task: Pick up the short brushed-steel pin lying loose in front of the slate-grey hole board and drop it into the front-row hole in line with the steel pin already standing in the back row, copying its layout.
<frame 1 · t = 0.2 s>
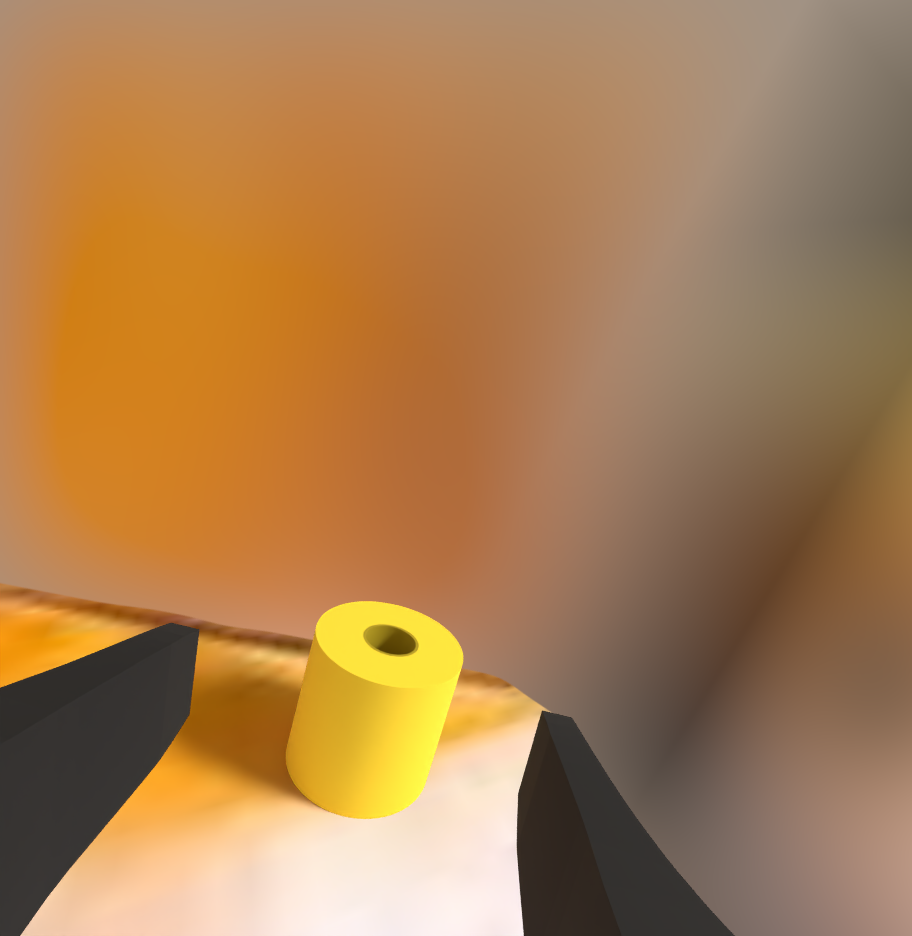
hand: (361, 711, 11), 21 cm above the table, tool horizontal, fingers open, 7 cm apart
tape roll: (357, 759, 39), on the table
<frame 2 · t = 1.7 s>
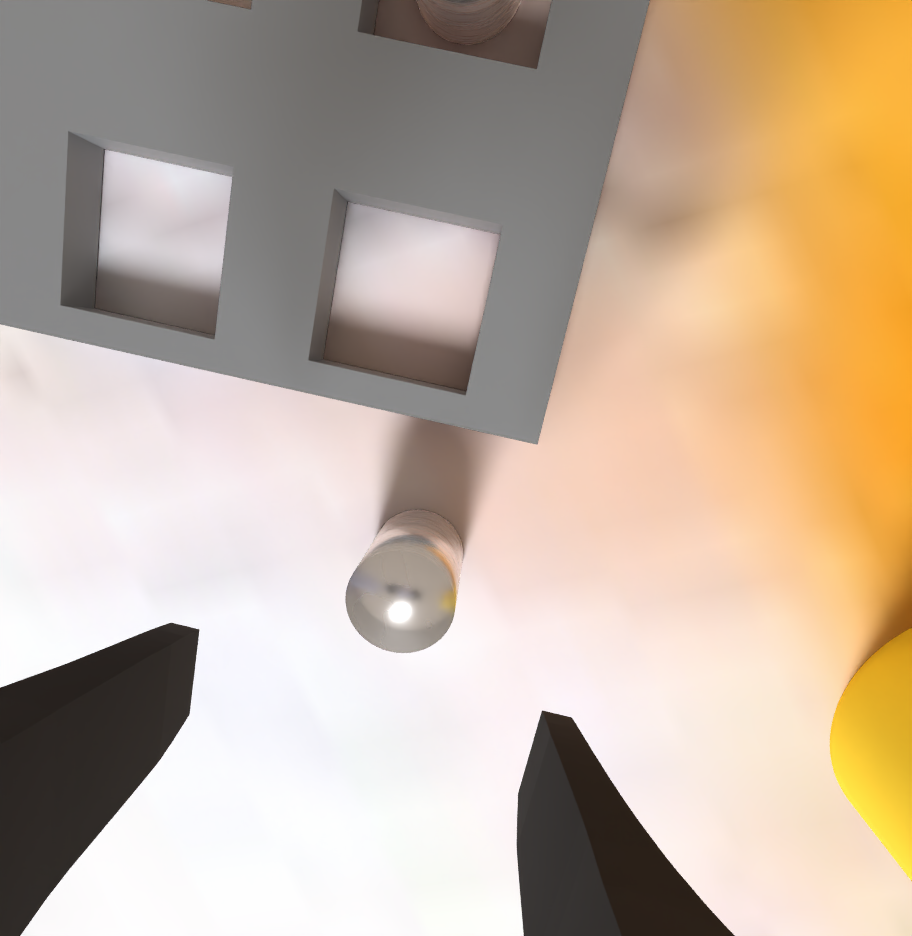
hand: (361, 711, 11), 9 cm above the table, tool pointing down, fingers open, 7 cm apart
hole board: (311, 122, 17), on the table
loose pin: (418, 552, 20), on the table
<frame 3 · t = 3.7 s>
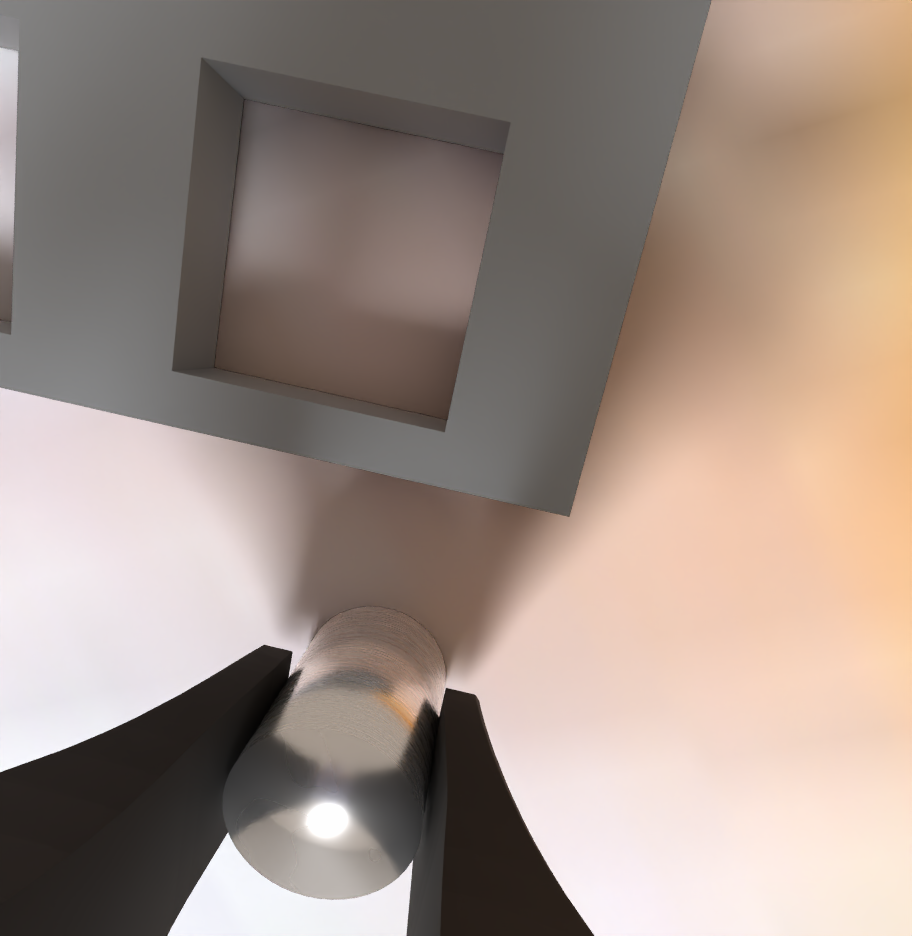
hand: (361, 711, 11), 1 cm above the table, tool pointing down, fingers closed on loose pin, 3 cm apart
loose pin: (375, 671, 13), on the table, touching gripper
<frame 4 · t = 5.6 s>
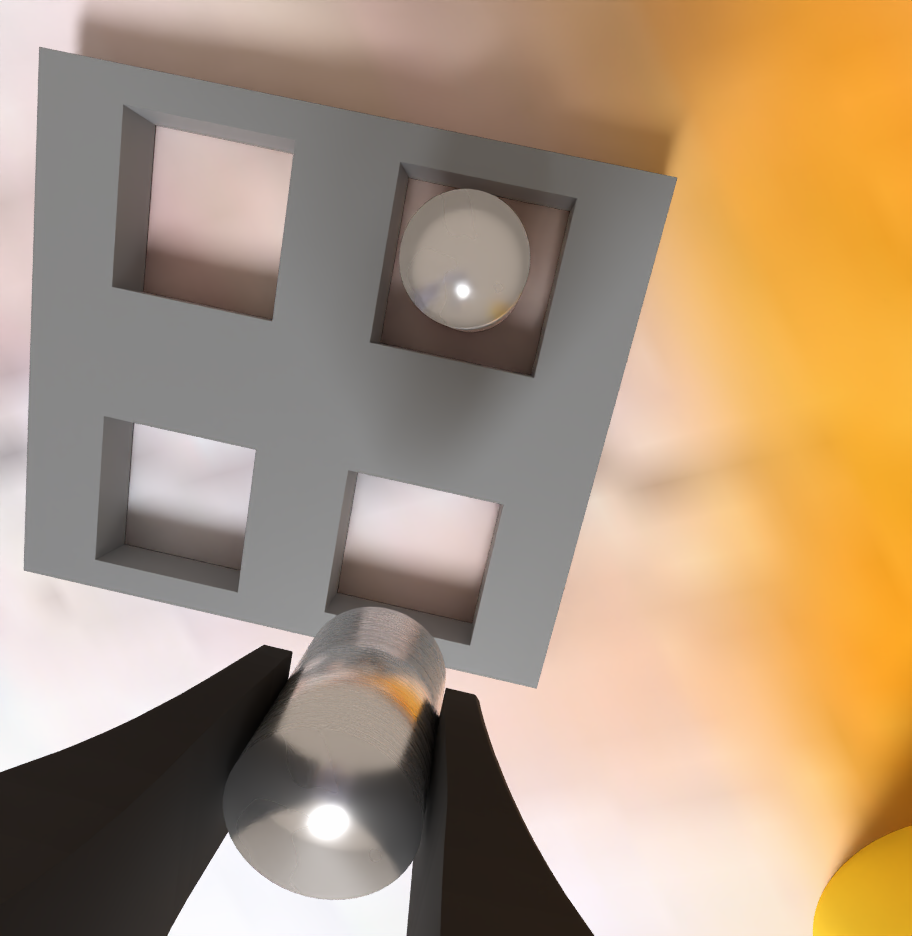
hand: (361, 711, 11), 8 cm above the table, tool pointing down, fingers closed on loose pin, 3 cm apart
hole board: (326, 393, 18), on the table
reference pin: (471, 279, 17), resting in hole board
loose pin: (376, 671, 13), point 7 cm above the table, touching gripper
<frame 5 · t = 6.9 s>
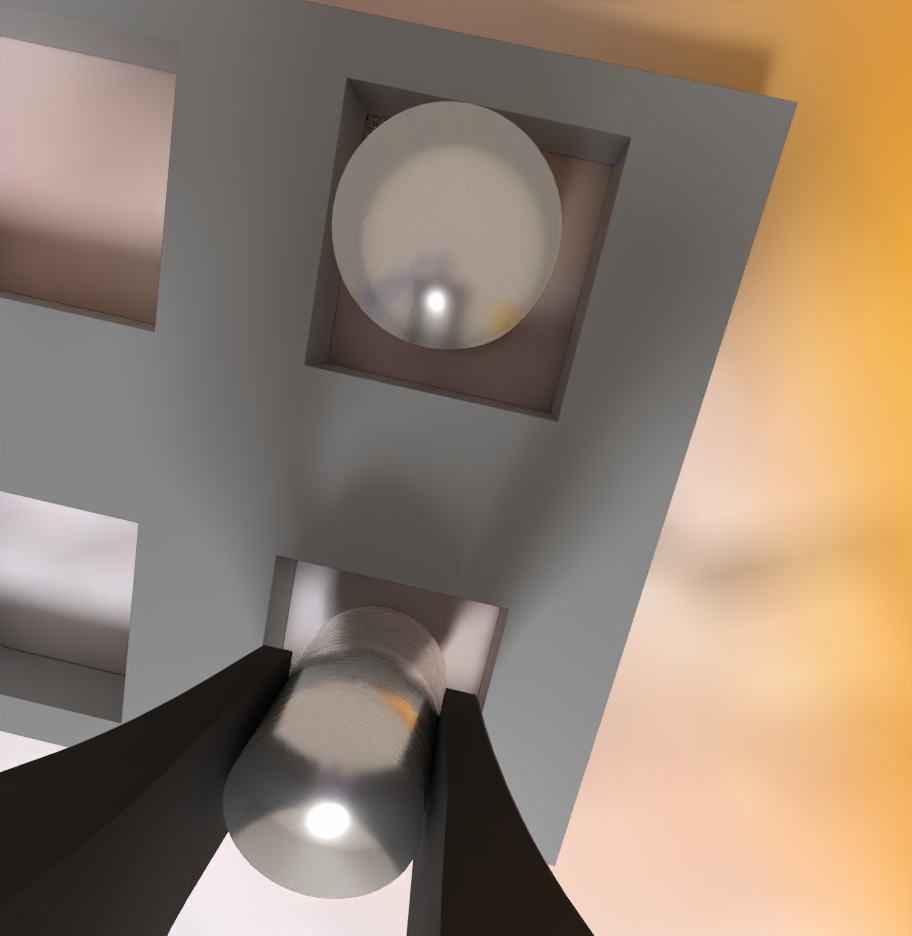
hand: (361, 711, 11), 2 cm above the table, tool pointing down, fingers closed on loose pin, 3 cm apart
hole board: (250, 435, 13), on the table
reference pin: (462, 270, 11), resting in hole board
loose pin: (376, 670, 13), point 1 cm above the table, touching gripper
when the fingers open (2 cm above the table, at t = 7.5 s): loose pin stays where it is, resting in hole board.
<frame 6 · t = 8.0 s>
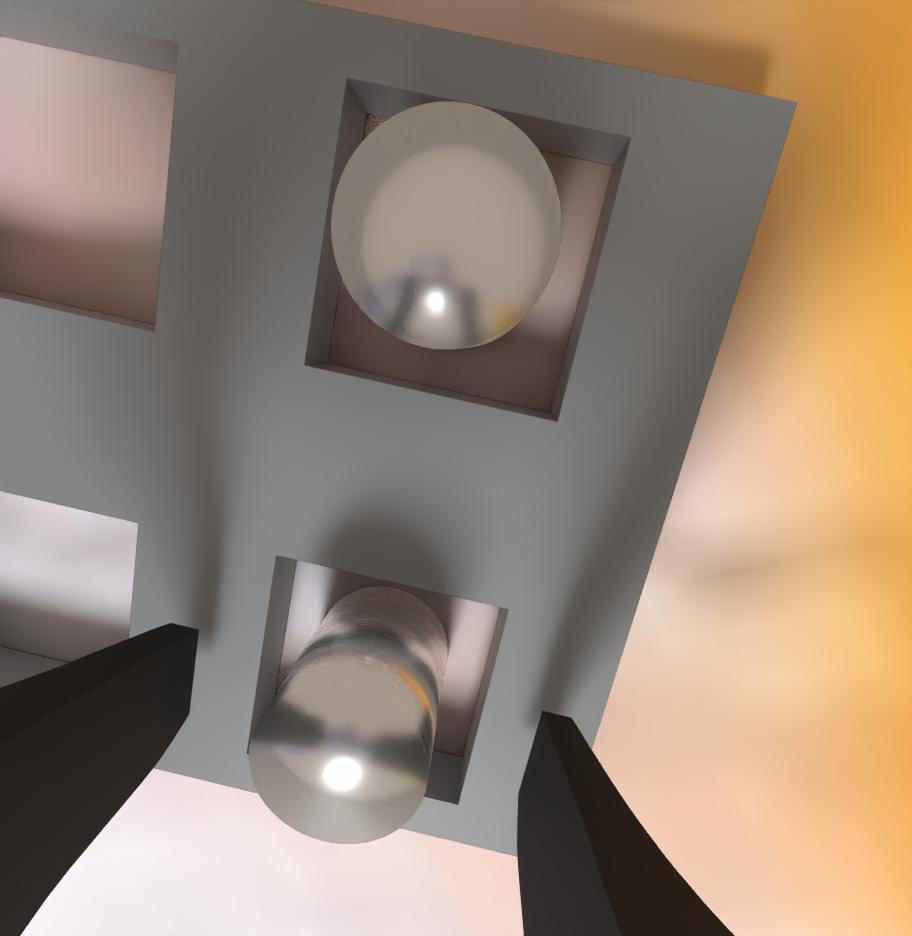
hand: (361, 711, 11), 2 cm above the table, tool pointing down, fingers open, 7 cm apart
hole board: (250, 435, 13), on the table
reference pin: (462, 270, 11), resting in hole board
loose pin: (383, 646, 14), resting in hole board
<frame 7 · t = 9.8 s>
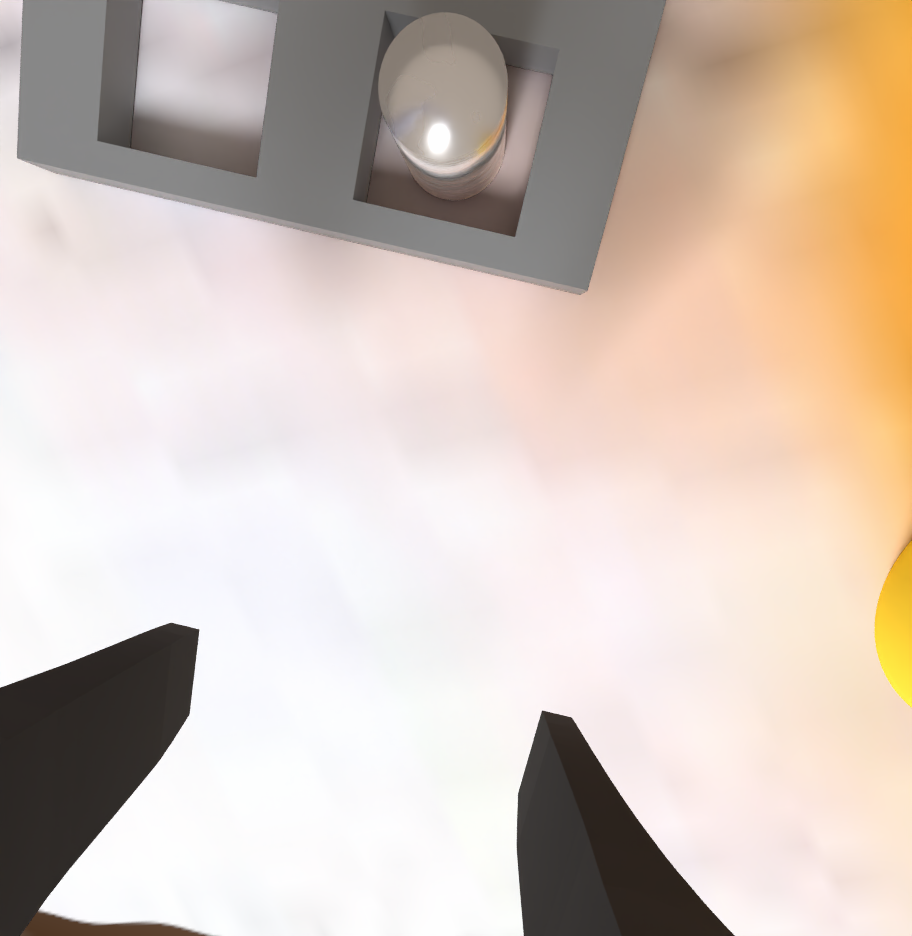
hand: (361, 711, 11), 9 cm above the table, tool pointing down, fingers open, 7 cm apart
loose pin: (454, 145, 17), resting in hole board
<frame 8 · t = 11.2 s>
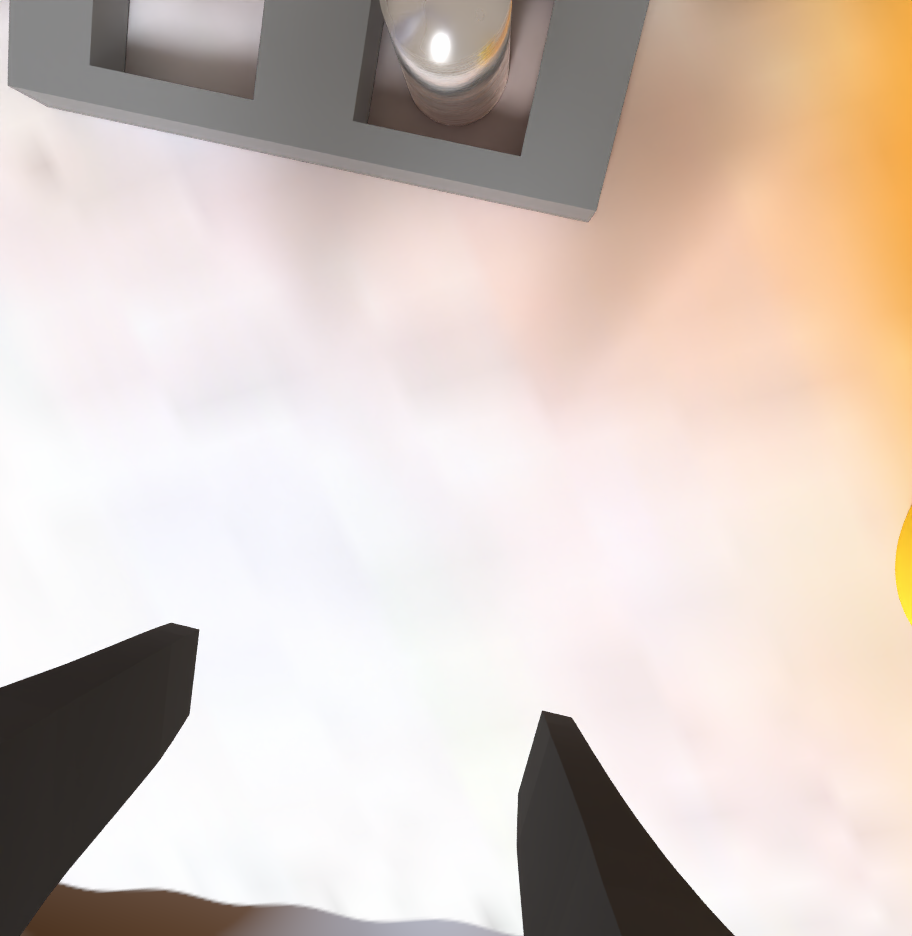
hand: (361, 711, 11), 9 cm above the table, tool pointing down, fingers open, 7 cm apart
loose pin: (456, 68, 17), resting in hole board
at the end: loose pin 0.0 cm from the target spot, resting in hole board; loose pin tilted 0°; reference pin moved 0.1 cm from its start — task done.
